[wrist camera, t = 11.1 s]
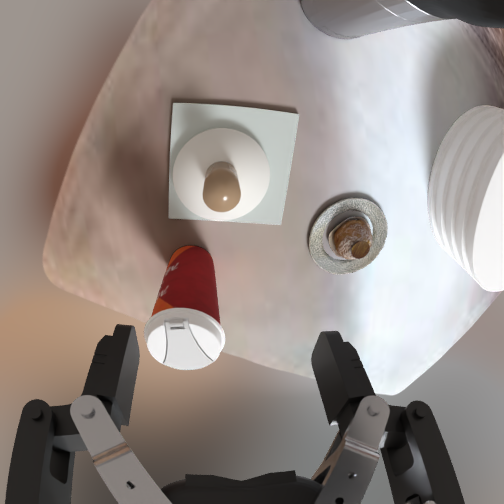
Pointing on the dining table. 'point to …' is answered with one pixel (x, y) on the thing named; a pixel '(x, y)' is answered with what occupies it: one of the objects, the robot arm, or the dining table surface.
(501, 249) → the plate stack
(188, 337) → the coffee cup
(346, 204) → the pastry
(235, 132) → the cup lid
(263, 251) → the dining table surface
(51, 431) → the robot arm
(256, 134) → the rubber mat
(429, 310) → the dining table surface
